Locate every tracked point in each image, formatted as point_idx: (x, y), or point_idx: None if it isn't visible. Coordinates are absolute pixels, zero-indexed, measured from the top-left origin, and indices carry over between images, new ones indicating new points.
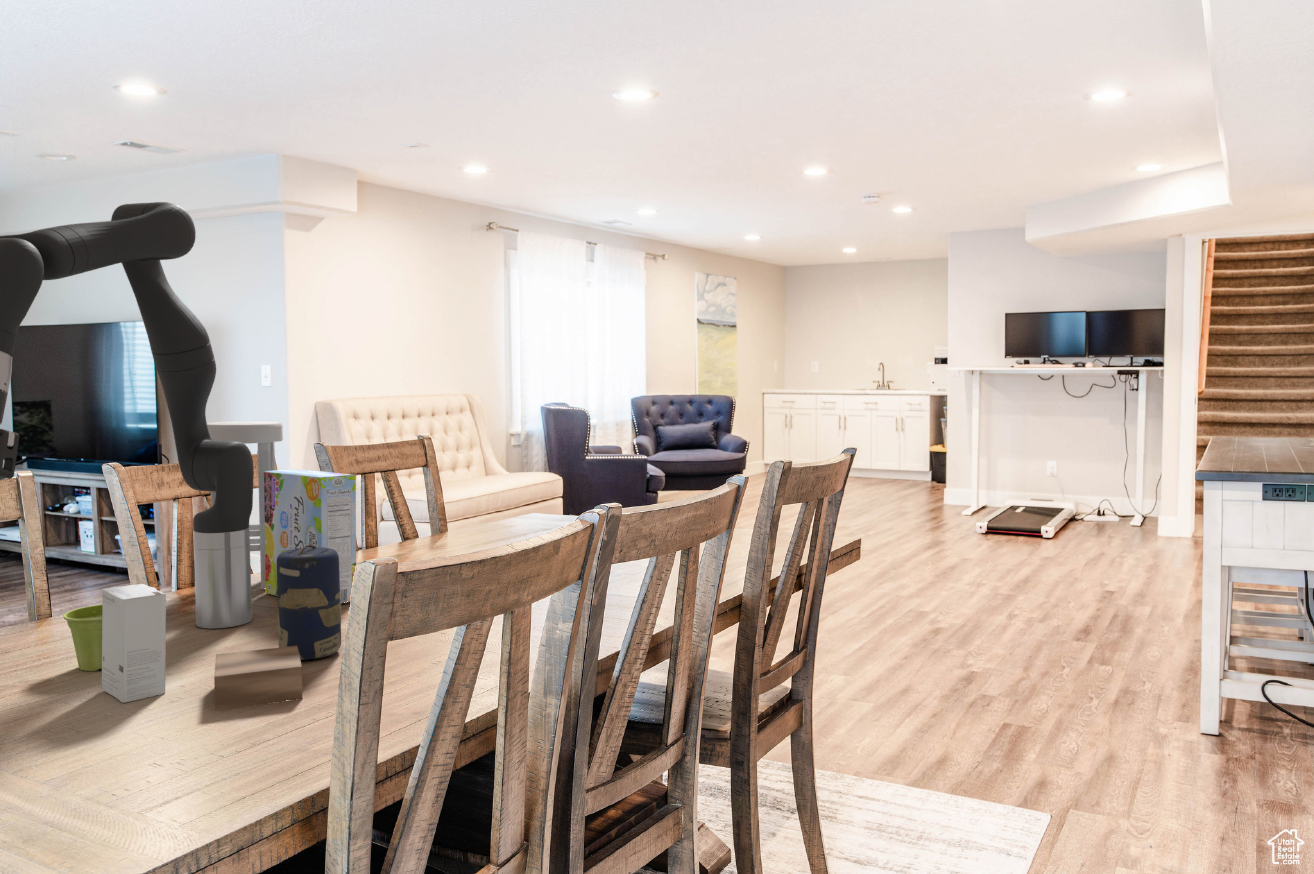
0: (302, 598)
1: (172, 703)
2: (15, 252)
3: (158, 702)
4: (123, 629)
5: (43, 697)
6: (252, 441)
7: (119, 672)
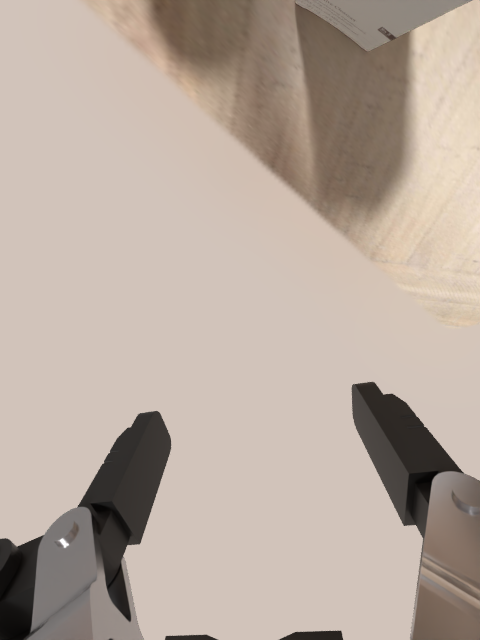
0: None
1: None
2: None
3: None
4: (443, 12)
5: (230, 77)
6: None
7: (377, 32)
